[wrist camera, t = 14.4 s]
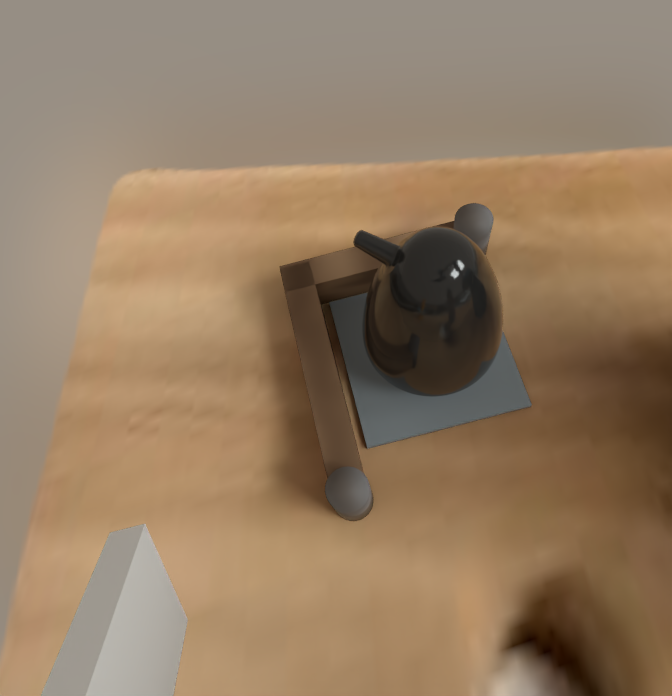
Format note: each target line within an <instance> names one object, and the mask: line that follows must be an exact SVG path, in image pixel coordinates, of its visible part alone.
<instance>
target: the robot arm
mask: <svg viewBox="0 0 672 696" xmlns="http://www.w3.org/2000/svg"><path fill="white" fill-rule="evenodd" d="M187 622H188V619H187V617H186V614H185V612H184V610H183V608H182V605H181V603H180V601H179V599H178V597H177V594H176V592H175V590H174V588H173V585H172V583H171V581H170V579H169V576H168V574H167V572H166V570H165V567H164V565H163V563H162V561H161V558H160V556H159V554H158V552H157V549H156V547H155V545H154V543H153V540H152V538H151V536H150V534H149V532H148V529H147V527H146V525H145V524H142V525H138V526H134V527H130V528H126V529H122V530H119V531H115V532H111V533H110V534H109V536H108V538H107V541H106V543H105V545H104V548H103V550H102V553H101V555H100V557H99V560H98V562H97V564H96V567H95V569H94V571H93V574H92V576H91V578H90V581H89V583H88V586H87V588H86V590H85V593H84V595H83V597H82V600H81V602H80V604H79V607H78V609H77V611H76V614H75V616H74V619H73V621H72V623H71V626H70V628H69V630H68V633H67V635H66V637H65V640H64V642H63V645H62V647H61V649H60V652H59V654H58V656H57V659H56V661H55V663H54V666H53V668H52V670H51V673H50V675H49V678H48V680H47V682H46V685H45V687H44V689H43V692H42V694H41V696H173V695H174V690H175V684H176V679H177V674H178V669H179V663H180V658H181V653H182V648H183V643H184V637H185V632H186V627H187Z"/></svg>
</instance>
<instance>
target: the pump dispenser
mask: <svg viewBox="0 0 672 696" xmlns="http://www.w3.org/2000/svg"><path fill="white" fill-rule="evenodd" d="M353 243H354V246H355V247H357V248H359V249H360V250H362V251H364V252H365V253H367V254H368V255H370V256H372V257H373V258H375V259H377V260H378V261H380V262H381V263H382V264H381V265H380V267H379V268H378V270H377V272H376V274H375V276H374V278H373V280H372V282H371V285H370V287H369V290H368V293H367V297H366V301H365V306H364V312H363V320H362V335H363V342H364V347H365V350H366V353H367V356H368V358H369V360H370V362H371V364H372V365H373V367H374V368H375V370H376V371H377V372H378V373H379V374H380V375H381V376H382V377H383V378H384V379H385V380H386V381H387V382H389V383H390V384H392V385H393V386H395V387H396V388H398V389H400V390H403V391H405V392H408V393H411V394H415V395H419V396H428V397H436V396H445V395H450V394H454V393H457V392H459V391H462V390H464V389H466V388H468V387H470V386H471V385H473V384H474V383H475V382H477V381H478V380H479V379H480V378H481V377H482V376H483V375H484V374H485V373H486V372H487V371H488V369H489V368H490V367H491V365H492V363H493V362H494V360H495V357H496V355H497V353H498V350H499V347H500V343H501V338H502V329H503V306H502V299H501V293H500V289H499V286H498V282H497V279H496V277H495V274H494V272H493V269H492V267H491V265H490V263H489V261H488V259H487V258H486V256H485V254H484V253H483V251H482V250H481V249H480V247H479V246H478V245H477V244H476V243H475V242H474V241H473V240H472V239H470V238H469V237H468V236H466V235H465V234H463V233H461V232H459V231H457V230H455V229H452V228H448V227H428V228H424V229H421V230H418V231H416V232H414V233H412V234H410V235H409V236H407V237H406V238H404V239H403V240H402V241H400V242H399V243H398V244H397V245H396V244H394V243H391V242H389V241H387V240H384V239H382V238H380V237H377V236H375V235H372V234H370V233H368V232H365V231H363V230H361V231H359V232H358V233H357V234H356V236H355V238H354V241H353Z"/></svg>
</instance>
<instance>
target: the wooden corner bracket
mask: <svg viewBox="0 0 672 696" xmlns="http://www.w3.org/2000/svg"><path fill="white" fill-rule="evenodd" d="M492 225H493V215H492V212H491V211H490V210H489V209H488V208H487V207H485V206H484V205H481V204H476V203H471V204H467V205H464V206H462V207H461V208H460V209H459V210H458V211H457V213H456V215H455V220H454V221H452V222H448V223H445V224H441V225H437V226H433V227H448V228H452V229H455V230H457V231H459V232H461V233H463V234H465V235H466V236H468V237H469V238H470V239H472V240H473V241H474V242H475V243H476V244H477V245H478V246H479V247H480V249H481V250H482V251H483V253H484V254H485V255H486V250H487V246H488V242H489V238H490V233H491V229H492ZM414 232H416V231H414ZM414 232H410V233H406V234H402V235H399V236H395V237H391V238H387V239H384V240H387V241H389V242H391V243H394V244H396V245H397V244H398V243H399V242H400V241H402V240H403V239H404V238H406V237H407V236H409V235H410V234H412V233H414ZM381 264H382V263H381V262H380V261H378V260H377V259H375V258H373V257H372V256H370V255H368V254H367V253H365V252H364V251H362V250H360V249H359V248H357V247H353V248H349V249H345V250H341V251H337V252H333V253H329V254H326V255H322V256H318V257H314V258H310V259H306V260H303V261H299V262H295V263H291V264H287V265H283V266H280V271H281V276H282V280H283V285H284V289H285V293H286V298H287V302H288V307H289V311H290V315H291V320H292V324H293V329H294V333H295V337H296V342H297V346H298V351H299V355H300V359H301V364H302V368H303V373H304V377H305V381H306V386H307V390H308V395H309V399H310V403H311V408H312V412H313V417H314V421H315V425H316V430H317V434H318V439H319V443H320V447H321V452H322V456H323V461H324V465H325V469H326V474H327V478H328V479H327V482H326V485H325V494H326V497H327V500H328V501H329V503H330V504H331V505H332V507H333V508H334V509H335V510H336V512H337V513H338V514H339V515H340V516H341V517H342V518H344V519H346V520H349V521H357V520H361V519H363V518H364V517H366V516H367V515H368V514H369V512H370V511H371V509H372V506H373V495H372V491H371V488H370V485H369V482H368V479H367V477H366V476H365V475H364V473H363V469H362V465H361V461H360V457H359V453H358V449H357V445H356V441H355V437H354V433H353V429H352V425H351V421H350V417H349V414H348V410H347V406H346V402H345V398H344V394H343V390H342V386H341V382H340V378H339V374H338V370H337V366H336V362H335V358H334V354H333V350H332V346H331V343H330V339H329V335H328V331H327V327H326V323H325V319H324V315H323V311H322V307H321V304H324V303H327V302H331V301H335V300H339V299H343V298H347V297H350V296H354V295H358V294H362V293H366V292H368V290H369V287H370V285H371V282H372V280H373V278H374V276H375V274H376V272H377V270H378V268H379V267H380V265H381Z"/></svg>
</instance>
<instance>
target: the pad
mask: <svg viewBox="0 0 672 696" xmlns="http://www.w3.org/2000/svg"><path fill="white" fill-rule="evenodd" d="M367 293H368V292H367ZM367 293H363V294H360V295H356V296H352V297H348V298H344V299H340V300H337V301H333V302H329V303H330V307H331V311H332V315H333V319H334V322H335V326H336V330H337V334H338V338H339V342H340V345H341V349H342V353H343V357H344V361H345V365H346V368H347V372H348V376H349V380H350V384H351V388H352V391H353V395H354V399H355V403H356V407H357V411H358V414H359V418H360V422H361V426H362V430H363V434H364V437H365V441H366V445H367V449H368V448H372V447H376V446H380V445H384V444H388V443H392V442H396V441H399V440H403V439H407V438H411V437H415V436H419V435H423V434H427V433H430V432H434V431H438V430H442V429H446V428H450V427H454V426H457V425H461V424H465V423H469V422H473V421H477V420H481V419H485V418H488V417H492V416H496V415H500V414H504V413H508V412H512V411H516V410H519V409H523V408H527V407H531V405H532V404H531V402H530V399H529V397H528V394H527V391H526V389H525V386H524V384H523V381H522V379H521V376H520V374H519V371H518V368H517V366H516V363H515V361H514V358H513V356H512V353H511V351H510V348H509V345H508V343H507V340H506V338H505V335H504V333H503V330H502V338H501V343H500V347H499V350H498V353H497V355H496V357H495V360H494V362H493V363H492V365H491V367H490V368H489V369H488V371H487V372H486V373H485V374H484V375H483V376H482V377H481V378H480V379H479V380H478V381H477V382H475V383H474V384H473V385H471V386H470V387H468V388H466V389H464V390H462V391H459V392H457V393H454V394H450V395H445V396H436V397H428V396H419V395H415V394H411V393H408V392H405V391H403V390H400V389H398V388H396V387H395V386H393V385H392V384H390V383H389V382H387V381H386V380H385V379H384V378H383V377H382V376H381V375H380V374H379V373H378V372H377V371H376V370H375V368H374V367H373V365H372V364H371V362H370V360H369V358H368V356H367V353H366V350H365V347H364V342H363V335H362V320H363V312H364V306H365V301H366V297H367Z"/></svg>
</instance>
